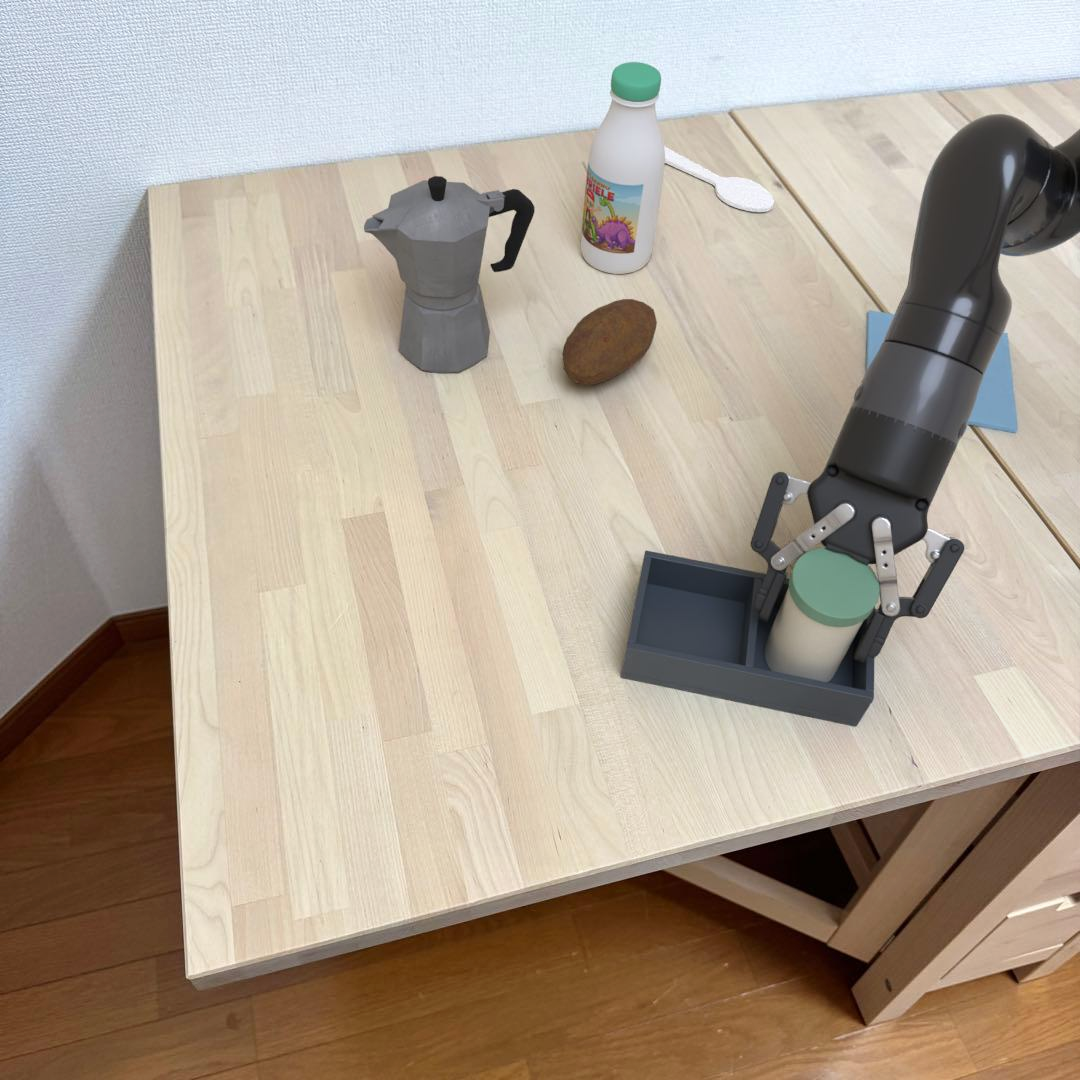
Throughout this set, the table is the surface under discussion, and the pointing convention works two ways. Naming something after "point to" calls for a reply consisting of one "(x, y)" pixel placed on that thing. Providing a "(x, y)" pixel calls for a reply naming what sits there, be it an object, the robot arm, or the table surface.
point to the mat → (995, 387)
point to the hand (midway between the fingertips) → (810, 638)
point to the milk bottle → (625, 174)
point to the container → (820, 614)
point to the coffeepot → (446, 266)
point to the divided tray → (728, 643)
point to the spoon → (726, 185)
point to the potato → (609, 341)
